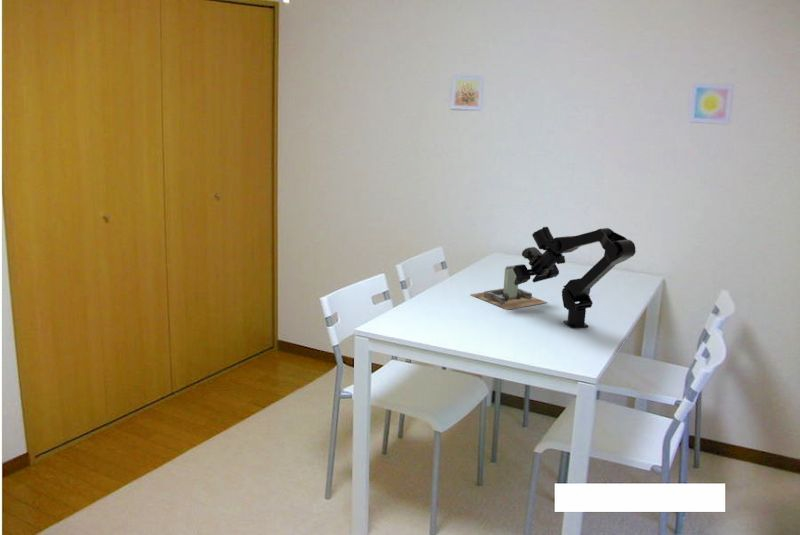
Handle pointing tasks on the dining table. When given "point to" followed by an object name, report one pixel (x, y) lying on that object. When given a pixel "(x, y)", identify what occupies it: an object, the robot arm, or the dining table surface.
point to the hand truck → (510, 285)
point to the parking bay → (500, 301)
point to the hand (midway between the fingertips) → (524, 282)
